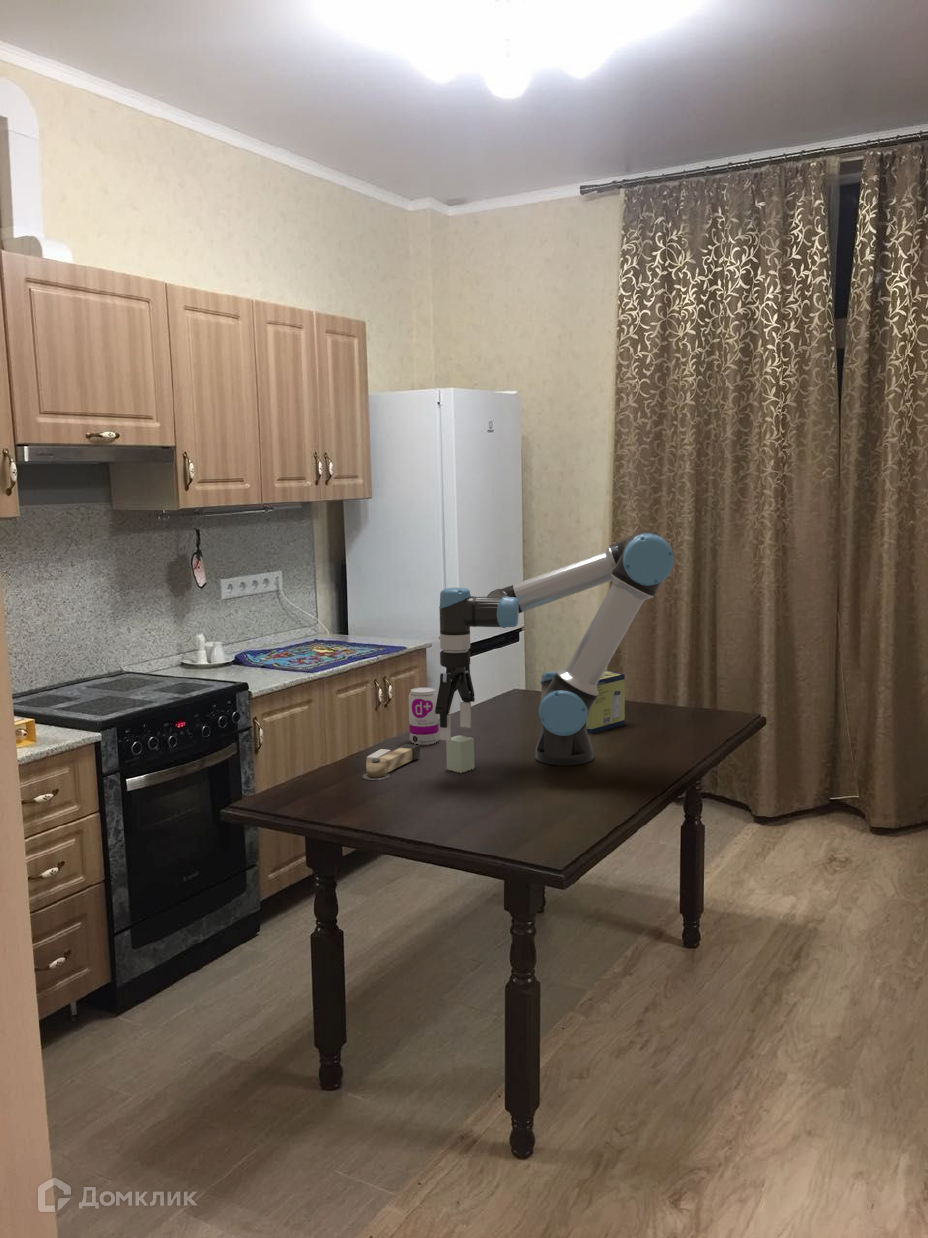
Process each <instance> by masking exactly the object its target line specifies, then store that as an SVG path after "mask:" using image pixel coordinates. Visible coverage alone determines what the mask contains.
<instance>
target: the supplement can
mask: <svg viewBox="0 0 928 1238" xmlns="http://www.w3.org/2000/svg"><path fill="white" fill-rule="evenodd" d="M437 697H438V692H437V689H436V688H435V687H431V686H430V687H428V686H427V687H426V686H424V687H423V686H421V687H415V688H414V687H413V688H411V689H410V692H409V693H408V721H409V742H411V743H412V744H413V743H414V744H413V745H416V744H418V745H420V746H430V744H431V745H433V744H434V743H435V744H436V742H437V743H438V741H439V714H435V708H436V702H437ZM435 744H434V745H435Z"/></svg>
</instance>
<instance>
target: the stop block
mask: <svg viewBox="0 0 928 1238" xmlns="http://www.w3.org/2000/svg"><path fill="white" fill-rule="evenodd" d="M390 752H392V750H391V749H384V748H380V749H378V750H377V751H375V752H373V753H371V754H369V755H368V756H366V762H367V761H369V760H372V759H378V758H380V757H382V756H384V755H386V754H388V753H390Z"/></svg>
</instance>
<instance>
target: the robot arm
mask: <svg viewBox="0 0 928 1238" xmlns="http://www.w3.org/2000/svg"><path fill="white" fill-rule="evenodd" d="M674 557H675V556H674V551H673V549H672V546H671V545H670V544H669V542H668V541H667V540H666V539H665V538H664V537H662V536H661V535H659V534H657V533H655V532H653V531H649V530H648V531H646V530H645V531H640V532H636V533H634V534H632V535H630V536H628V537H625V538H624V539H623V540H620V541H618V542H615V543H613V544H610V545H608V546H607V547H606V549H605V551H603V552H600V553H597V554H594V555H592V556H589V557H586V558H584V559H580V560H577V561H575V562H572V563H569V564H566V565H564V566H561V567H557V568H555V569H553V570H550V571H547V572H544V573H541V574H538V575H535V576H533V577H530V578H528V579H526V580H522V581H519V582H516V583H514V584H512V585H509V586H506V587H502V588H497V589H494V590H491V591H490V592H489V593H488V594H487V595H486V596H473V595H471V590H470V589H469V588H467V587H446V588H443V589H442V590H441V591H440V594H439V607H438V609H439V636H438V640H439V643H440V644H439V648H440V649H441V651H440V652H439V661H440V662H439V664H440V666H441V667H443V668H445V669H446V670H445V673H442V672H440V675H439V686H438V692H437V694H438V697H437V702H436V708H435V714H438V717H439V740H440V741H441V740H442V741H446V740H449V741H450V740H451V737H452V736H451V735H452V734H451V733H452V730H451V729H452V728H451V727H452V726H451V724H452V723H451V722H452V721H451V719H452V717H451V713H450V710H451V706H452V702H453V699H454V696H455V692H456V691H457V692H458V694H459V697H460V700H461V701H460V702H459V709H460V710H459V712H460V713H459V719H460V720H459V723H460V725H459V727H460V728H468V729H470V728H472V703H475V700H476V699H475V690H474V685H473V681H472V677H471V667H470V665H471V651H470V649H471V627H473V628H476V627H479V628H482V627H483V628H502V629H506V628H515V627H517V626H518V624H519V614H521V613H524V612H527V611H530V610H532V609H535V608H539V607H540V606H543V605H546V604H549V603H552V602H555V601H557V600H560V599H563V598H565V597H569V596H572V595H575V594H578V593H580V592H583V591H587V590H588V589H592V588H594V587H598V586H601V585H603V584H606V583H609V582H612V584H611V586H610V588H609V589H608V591H607V593H606V595H605V597H604V599H603V600H602V602H601V604H600V606H599V607H598V609H597V611H596V613H595V615H594V616H593V618H592V620H591V622H590V624H589V626H588V628H587V629H586V631H585V633H584V635H583V636H582V638H581V640H580V642H579V643H578V646H577V648H576V649H575V651H574V652H573V654H572V656H571V657H570V660H569V662H568V663H567V665H566V667H565V668H561V669H558V670H557V671H556V670H555V671H546V672H543V673H542V674H541V678H540V679H541V680H540V685H541V687H540V688H541V697H540V702H539V705H538V709H537V710H538V717H539V719H540V723H541V731H540V734H539V738H538V741H537V744H536V747H535V760H536V761H538V762H541V763H543V764H548V765H554V766H577V765H582V764H587V763H590V762H592V761H593V759H594V748H593V745H592V742H591V738H590V734H589V733H588V732H587V728H586V719H587V714H588V712H589V710H590V708H591V707H592V705H593V703H594V701H595V699H596V698H597V696H598V694H599V693H598V690H597V683H598V681H599V680H600V678H601V676H602V674H603V673H604V671H606V669H607V667H608V666H609V664H610V662H611V660H612V659H613V656H614V654H615V653H616V652H617V650H618V648H619V646H620V644H621V642H622V640H623V639H624V637H625V635H626V634H627V632H628V630H629V628H630V627H631V625H632V623H633V621H634V619H635V617H636V616H637V614H638V612H639V610H640V608H641V607H642V605H643V603H644V602H645V601H646V600H649V599H653V598H654V596H655V595H656V593H657V592H658V590H659V588H660V586H661V584H662V583H663V581H665V580H666V579H667V577H669V575H670V574H671V572H672V570H673V567H674V564H675V563H674V560H675V559H674ZM439 740H438V741H439Z"/></svg>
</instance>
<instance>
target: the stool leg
mask: <svg viewBox="0 0 928 1238" xmlns="http://www.w3.org/2000/svg"><path fill="white" fill-rule="evenodd" d="M420 746H421V745H416V744H413V743H412V744H410V743H404V744H402V745H399V747H398V748H396V749H394V750H391V752H390V753H388V754H386V755H384V756H382V757H380V758H378V759H372V760H369V761H367V760H366V761H365V762H366V763H365V764H366V765H365V769H366V772H365V773H367V776H369V777H382V776H385V775H386V774H387V773H390V772H392V771H393V770H395V769H398V768H400V767H402V766H403V765H405V764H408V763H410V762H411V761H415V760H417V759H419V758H421V752H420V751H421V749H420V748H421V747H420Z"/></svg>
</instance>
